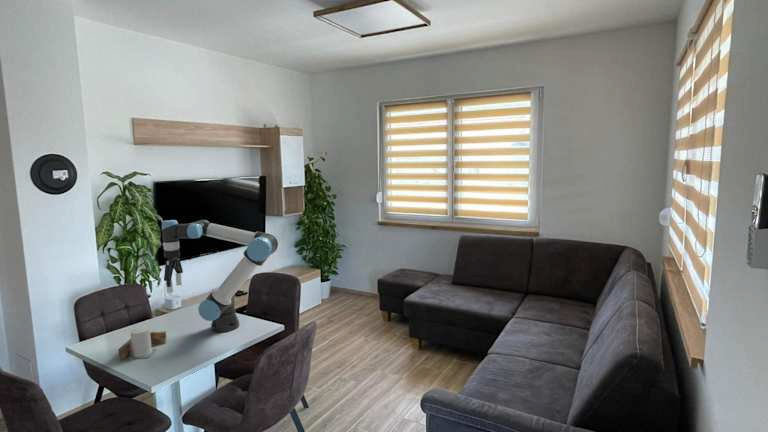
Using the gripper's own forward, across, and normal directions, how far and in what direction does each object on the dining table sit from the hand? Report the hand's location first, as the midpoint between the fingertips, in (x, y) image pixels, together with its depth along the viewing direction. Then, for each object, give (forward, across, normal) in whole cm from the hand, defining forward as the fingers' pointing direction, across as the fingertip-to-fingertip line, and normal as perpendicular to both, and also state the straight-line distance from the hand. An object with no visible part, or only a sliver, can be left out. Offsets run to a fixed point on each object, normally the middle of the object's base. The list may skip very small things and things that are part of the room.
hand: (174, 288), depth 224 cm
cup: (+27, +20, -10) cm, 35 cm away
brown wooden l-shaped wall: (+27, +17, -11) cm, 34 cm away
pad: (+27, +20, -10) cm, 35 cm away
